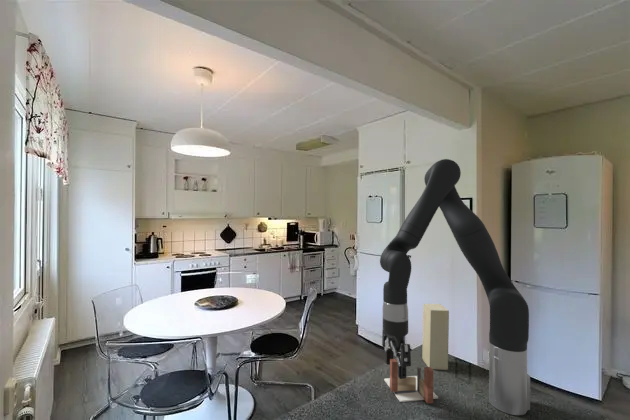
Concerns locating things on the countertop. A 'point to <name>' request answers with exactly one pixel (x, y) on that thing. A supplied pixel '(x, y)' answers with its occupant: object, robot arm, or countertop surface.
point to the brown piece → (425, 384)
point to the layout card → (408, 393)
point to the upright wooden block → (435, 336)
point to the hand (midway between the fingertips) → (395, 370)
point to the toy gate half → (398, 383)
